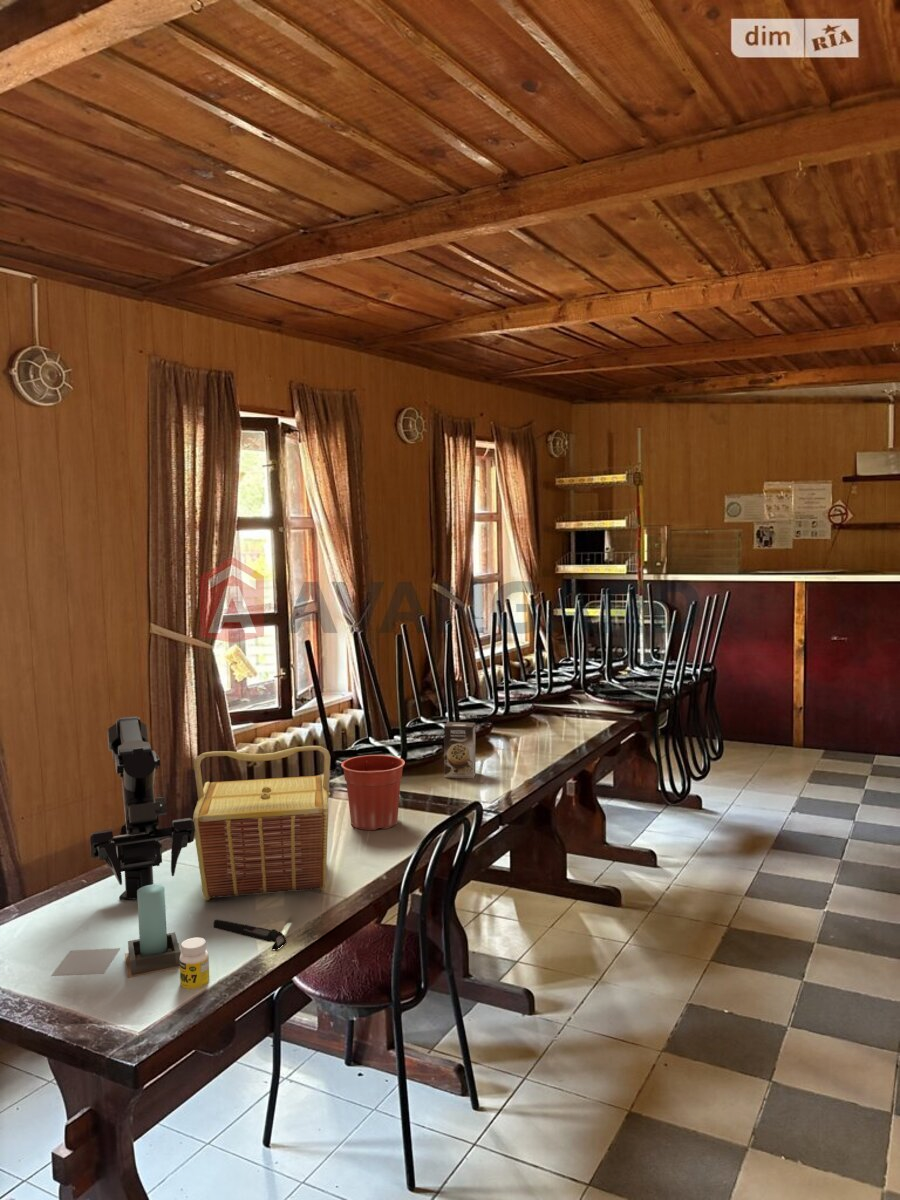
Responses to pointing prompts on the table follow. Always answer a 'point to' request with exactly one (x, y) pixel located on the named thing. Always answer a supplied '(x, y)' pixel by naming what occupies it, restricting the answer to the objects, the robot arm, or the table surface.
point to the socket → (152, 958)
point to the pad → (86, 962)
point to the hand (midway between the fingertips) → (147, 879)
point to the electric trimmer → (252, 932)
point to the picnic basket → (262, 830)
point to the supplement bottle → (194, 963)
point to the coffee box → (459, 749)
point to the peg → (152, 920)
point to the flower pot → (373, 790)
